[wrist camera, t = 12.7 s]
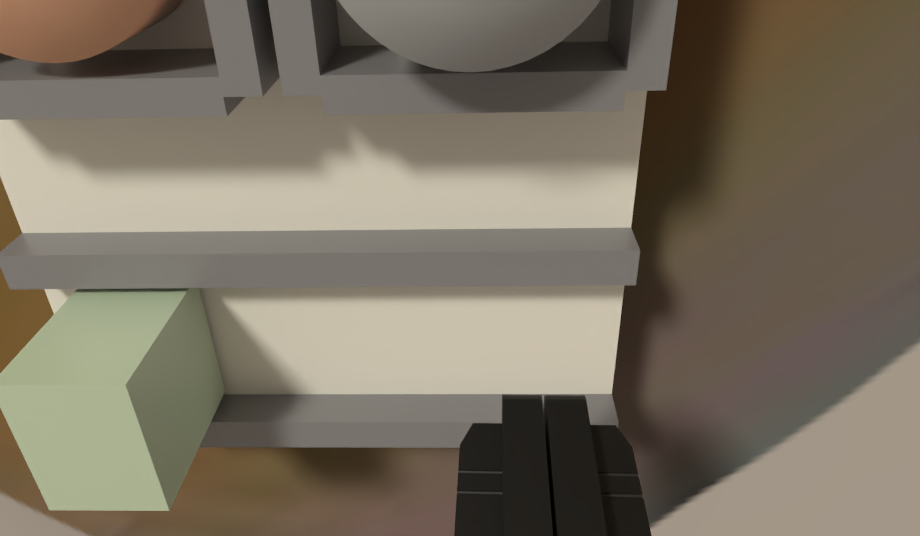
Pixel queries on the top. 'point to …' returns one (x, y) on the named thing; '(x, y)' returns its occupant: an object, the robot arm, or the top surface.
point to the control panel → (346, 210)
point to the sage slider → (114, 398)
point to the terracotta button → (74, 26)
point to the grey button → (469, 29)
